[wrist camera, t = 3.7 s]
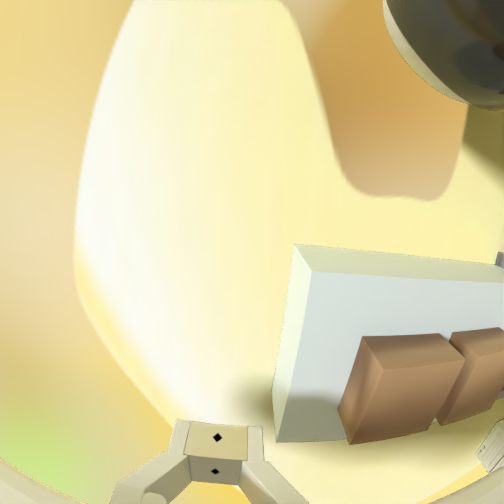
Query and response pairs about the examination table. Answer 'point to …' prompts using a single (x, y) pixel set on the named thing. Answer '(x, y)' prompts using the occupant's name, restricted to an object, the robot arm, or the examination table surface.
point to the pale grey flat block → (365, 322)
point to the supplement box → (493, 448)
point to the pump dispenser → (453, 46)
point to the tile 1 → (397, 385)
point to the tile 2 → (475, 374)
